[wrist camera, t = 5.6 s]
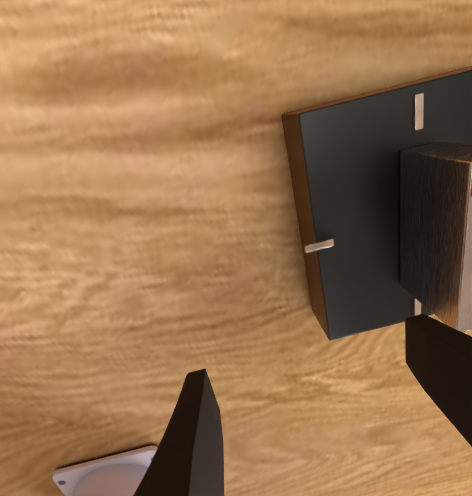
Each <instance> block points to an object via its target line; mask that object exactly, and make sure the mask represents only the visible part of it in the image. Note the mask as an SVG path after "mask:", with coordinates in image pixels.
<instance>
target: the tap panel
mask: <svg viewBox="0 0 472 496" xmlns="http://www.w3.org/2000/svg"><path fill="white" fill-rule="evenodd" d="M282 121H283V127H284V133H285V140H286V146H287V152H288V159H289V165H290V171H291V178H292V184H293V191H294V197H295V203H296V210H297V216H298V222H299V229H300V235H301V241H302V248H303V254H304V261H305V267H306V273H307V280H308V286H309V292H310V299H311V305H312V311H313V313H314V314H315V316H316V318H317V320H318V321H319V323H320V325H321V327H322V328H323V330H324V332H325V333H326V335H327V337H328V339H329V340H330V341H331V340H335V339H339V338H343V337H347V336H351V335H355V334H358V333H362V332H366V331H370V330H374V329H378V328H382V327H386V326H390V325H394V324H398V323H402V322H405V318H407V317H411V316H415V315H419V314H424V315H426V316H429V315H433V313H432V312H431V311H430V310H428V309H427V308H426V307H425V306H424V305H423V304H421V303H420V302H419V301H418V300H417V299H415V298H414V297H413V296H412V295H411V294H409V293H408V292H407V291H406V290H405V289H404V288H402V287H401V286H400V151H401V150H405V149H409V148H414V147H418V146H422V145H426V144H430V143H434V142H447V143H457V144H467V145H472V66H471V67H467V68H463V69H459V70H455V71H451V72H447V73H443V74H439V75H435V76H431V77H427V78H423V79H419V80H415V81H411V82H407V83H403V84H399V85H395V86H392V87H388V88H384V89H380V90H376V91H372V92H368V93H364V94H360V95H356V96H352V97H348V98H344V99H340V100H336V101H332V102H328V103H324V104H320V105H316V106H312V107H308V108H304V109H300V110H296V111H292V112H288V113H284V114H282Z"/></svg>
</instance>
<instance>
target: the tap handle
mask: <svg viewBox="0 0 472 496" xmlns="http://www.w3.org/2000/svg"><path fill="white" fill-rule="evenodd" d="M400 286H401V287H402V288H404V289H405V290H406V291H407V292H408V293H409V294H411V295H412V296H413V297H414V298H415V299H417V300H418V301H419V302H420V303H421V304H423V305H424V306H425V307H426V308H427V309H428V310H430V311H431V312H432V313H433V314H434V315H436V316H437V317H438V318H439V319H440V320H441V321H443V322H444V323H445V324H446V325H448V326H450V327H452V328H454V329H456V330H459V331H461V332H465V331H469V330H472V145H467V144H457V143H447V142H434V143H430V144H426V145H422V146H418V147H414V148H409V149H405V150H401V151H400Z"/></svg>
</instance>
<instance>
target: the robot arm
mask: <svg viewBox="0 0 472 496" xmlns="http://www.w3.org/2000/svg"><path fill="white" fill-rule="evenodd" d="M405 334H406V363H407V365H408V366H409V368H410V370H411V371H412V373H413V374H414V376H415V377H416V379H417V380H418V382H419V383H420V385H421V386H422V388H423V389H424V390H425V392H426V393H427V394H428V395H429V396H430V398H431V399H432V400H433V401H434V402H435V404H436V405H437V406H438V407H439V408H440V410H441V411H442V412H443V413H444V414H445V416H446V417H447V418H448V419H449V420H450V421H451V423H452V424H453V425H454V426H455V427H456V429H457V430H458V431H459V432H460V433H461V434H462V436H463V437H464V438H465V439H466V440H467V442H468V443H469V444H470V445H471V446H472V337H471V336H469V335H467V334H465V333H463V332H461V331H459V330H456V329H454V328H452V327H450V326H448V325H446V324H444V323H442V322H440V321H437V320H435V319H433V318H431V317H429V316H426V315H424V314H419V315H415V316H411V317H407V318H405ZM52 479H53V481H54V482H55V483H56V485H57V486H58V487H59V489H60V490H61V491H62V493H63V494H64V495H65V496H224V456H223V434H222V425H221V417H220V409H219V406H218V404H217V401H216V398H215V395H214V392H213V389H212V386H211V383H210V380H209V377H208V375H207V372H206V369H202V370H198V371H194V372H190V373H188V374H187V376H186V378H185V382H184V385H183V388H182V390H181V393H180V396H179V399H178V401H177V404H176V407H175V409H174V412H173V414H172V417H171V419H170V421H169V424H168V426H167V429H166V431H165V433H164V436H163V438H162V440H161V442H160V444H159V446H158V447H157V446H153V445H152V446H147V447H143V448H140V449H136V450H132V451H128V452H124V453H120V454H116V455H112V456H108V457H104V458H101V459H97V460H93V461H89V462H85V463H81V464H77V465H73V466H69V467H65V468H62V469H58V470H56V471H55V472H54V474H53V476H52Z"/></svg>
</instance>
